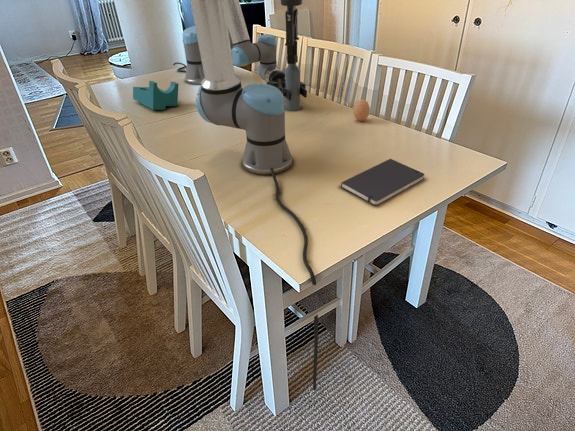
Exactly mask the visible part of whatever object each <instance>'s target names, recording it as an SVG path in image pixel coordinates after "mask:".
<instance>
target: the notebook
mask: <svg viewBox="0 0 575 431" xmlns="http://www.w3.org/2000/svg"><path fill="white" fill-rule="evenodd" d="M424 176H425V173H424V172H422V171H420V170H417V169H415V168H413V167H410V166H408V165H406V164H404V163H401V162H399V161H397V160H395V159H393V158H389V159H387V160H385V161H382V162H380V163H379V164H377V165H375V166H372V167H370V168H368V169H366V170H364V171H362V172H360V173H358V174H356V175H353V176H351V177H350V178H348V179H345V180H344V181H341V182H340V183H341V184H340V187H341V188H342V189H344V190H345V191H347V192H349V193H350V194H353V195H355V196H356V197H358V198H360V199H362V200H363V201H365V202H367V203H369V204H371V205H373V206H379V205H381V204H382V203H384V202H386V201H388V200H390V199H391V198H393V197H395V196H397V195H398V194H400V193H402V192H404V191H406V190H407V189H409V188H411V187H413V186H415V185H416V184H418V183H420V182H422V181H423V180H424Z"/></svg>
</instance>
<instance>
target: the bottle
mask: <svg viewBox="0 0 575 431" xmlns="http://www.w3.org/2000/svg"><path fill="white" fill-rule="evenodd" d="M284 74H285V89H286V90H288V91H289V92H290V93H291V100H288V99H287V98H286V97H285V110H286V111H291V112H295V111H299V110H300V109H301V94H300V81H301V69H300V67H299V66H298V65H297V63H295V64H287V66H286V68H285V69H284Z"/></svg>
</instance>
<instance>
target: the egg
mask: <svg viewBox="0 0 575 431" xmlns="http://www.w3.org/2000/svg"><path fill="white" fill-rule="evenodd" d="M352 112H353V113H352V115H353V117H354V118H355V120H357V121H360V122H362V121H365V120H367V119H368V118H369V116H370V112H371V108H370V105H369V102H368V101H367V100H366V99H359V100H357V101H356V102H355V104H354V106H353V111H352Z"/></svg>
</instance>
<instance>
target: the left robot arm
mask: <svg viewBox="0 0 575 431" xmlns="http://www.w3.org/2000/svg"><path fill="white" fill-rule="evenodd" d="M224 4H225V11H226V18H227V25H228V32H229V39H230V46H231V53H232V60H233V66H235V67H239V68H240V67H245V66H246V67H247V66H248V65H252V64H255V63H259V64H258V66H257V71H256V72H257V75H258V76H259V77H260V79H261V80H263V81H264V82H266V84H267V85H271V86H274V87H276V88H278V89H279V90H280V91H281V92H282V94H283V96H284V98H285V99H286V98H287V99H288V100H291V93H290V92H289V91H288V90H286V89H285V72H284V71H282V70H280V69H279V68H278V63H277V43H276V42H277V41H276V40H277V39H276V36H274V35H273V34H269V33H265V34H260V35H259V36H258V37H257V42H256V41H255V42H253V43H252V42H251V38H250V35H249V32H248V28H247V24H246V21H245V17H244V14H243V11H242V6H241V3H240V0H224ZM181 35H182V44H183V49H184V55H185V61H186V64H185V63H183V62H177V61H176V62H174V63H173V64H172V66H175V65H180V66H182V67H179V68H177V71H178V72H180V73H185V76H184V79H185V82H186V83H188V84H190V85H201V81H202V80H203V79H204V77H205V76H204V71H203V65H202V60H201V55H200V50H199V44H198V39H197V34H196V29H195V25H193V26H189V27H187V28H185V29H184V30H183V31H182V34H181ZM183 69H186V70H183ZM306 87H307V86H306V83H304V82H302V81H301V80H300V96H302V97H303V98H307V97H308V90H307V89H306Z"/></svg>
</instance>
